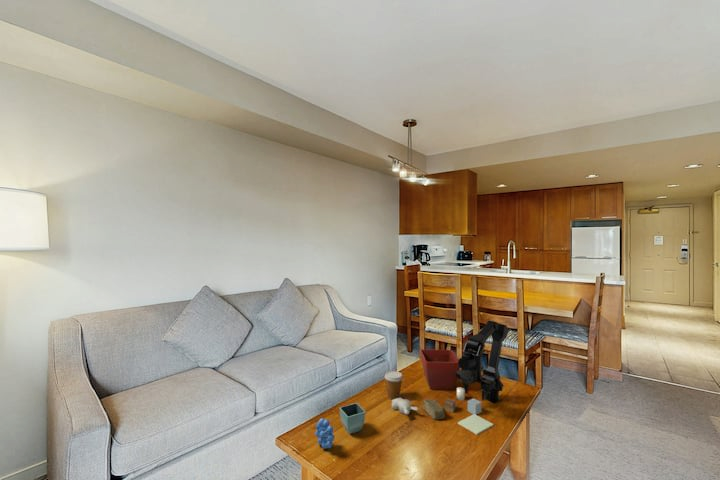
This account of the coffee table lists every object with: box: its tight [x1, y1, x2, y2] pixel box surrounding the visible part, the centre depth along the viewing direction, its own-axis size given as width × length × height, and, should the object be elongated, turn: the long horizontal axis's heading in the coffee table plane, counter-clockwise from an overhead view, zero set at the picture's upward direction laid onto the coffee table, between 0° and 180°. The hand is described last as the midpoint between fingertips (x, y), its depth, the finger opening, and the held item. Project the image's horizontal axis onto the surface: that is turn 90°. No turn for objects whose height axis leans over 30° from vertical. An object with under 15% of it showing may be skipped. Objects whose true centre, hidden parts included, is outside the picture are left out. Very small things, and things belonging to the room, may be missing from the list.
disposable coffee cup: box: [384, 370, 404, 401], centre depth 171 cm, size 10×10×12 cm
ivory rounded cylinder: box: [456, 386, 466, 401], centre depth 170 cm, size 4×4×5 cm
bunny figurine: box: [391, 397, 420, 415], centre depth 158 cm, size 10×5×15 cm
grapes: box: [314, 417, 336, 450], centre depth 130 cm, size 12×7×12 cm, turn 41°
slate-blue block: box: [467, 398, 482, 416], centre depth 157 cm, size 4×4×5 cm
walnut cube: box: [444, 398, 457, 413], centre depth 159 cm, size 4×4×4 cm
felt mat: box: [457, 414, 494, 435], centre depth 147 cm, size 12×10×1 cm
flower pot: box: [339, 402, 366, 435], centre depth 142 cm, size 9×9×9 cm
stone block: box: [422, 398, 446, 421], centre depth 155 cm, size 6×12×5 cm, turn 20°
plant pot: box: [420, 349, 461, 391], centre depth 186 cm, size 19×19×17 cm
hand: (474, 396), depth 157 cm, fingers open, 9 cm apart
